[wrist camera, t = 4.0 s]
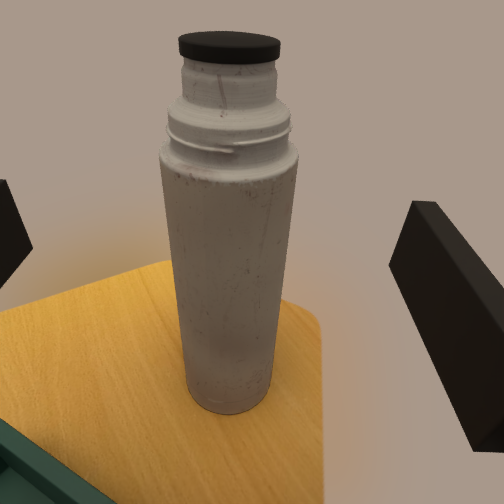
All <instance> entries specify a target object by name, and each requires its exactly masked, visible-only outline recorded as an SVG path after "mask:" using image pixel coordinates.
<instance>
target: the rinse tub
mask: <svg viewBox="0 0 504 504" xmlns="http://www.w3.org/2000/svg"><path fill="white" fill-rule="evenodd" d="M0 504H117V503H116V502H114V501H113V500H111V499H110V498H109V497H107V496H106V495H105V494H103V493H102V492H100V491H99V490H98V489H96V488H95V487H94V486H92V485H91V484H90V483H88V482H87V481H85V480H84V479H83V478H81V477H80V476H79V475H77V474H76V473H75V472H73V471H72V470H70V469H69V468H68V467H66V466H65V465H64V464H62V463H61V462H60V461H58V460H57V459H55V458H54V457H53V456H51V455H50V454H49V453H47V452H46V451H45V450H43V449H42V448H40V447H39V446H38V445H36V444H35V443H34V442H32V441H31V440H29V439H28V438H27V437H25V436H24V435H23V434H21V433H20V432H19V431H17V430H16V429H14V428H13V427H12V426H10V425H9V424H8V423H6V422H5V421H4V420H2V419H1V418H0Z"/></svg>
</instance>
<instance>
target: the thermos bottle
mask: <svg viewBox="0 0 504 504" xmlns="http://www.w3.org/2000/svg"><path fill="white" fill-rule="evenodd" d="M178 40H179V52H180V55H182V56H183V57H184V65H183V67H182V69H181V73H182V88H183V94H182V96H180V97H179V98H177V99H176V100H175V101H173V102H172V103H171V104H170V106H169V107H168V121H169V122H168V124H167V126H166V131H167V133H168V135H169V137H170V138H168V139H167V140H166V141H165V142H164V143H163V144H162V146H161V148H160V150H159V161H160V169H161V177H162V185H163V193H164V201H165V208H166V217H167V224H168V233H169V241H170V250H171V257H172V266H173V274H174V282H175V290H176V298H177V306H178V314H179V322H180V331H181V339H182V347H183V355H184V363H185V371H186V379H187V385H188V388H189V391H190V393H191V395H192V397H193V398H194V399H195V400H196V402H197V403H198V404H200V405H201V406H202V407H204V408H205V409H207V410H209V411H212V412H214V413H219V414H237V413H241V412H244V411H247V410H249V409H250V408H252V407H254V406H255V405H257V404H258V403H259V402H260V401H261V400H262V399H263V397H264V396H265V394H266V393H267V391H268V388H269V386H270V380H271V373H272V366H273V357H274V349H275V341H276V333H277V325H278V318H279V310H280V302H281V294H282V286H283V277H284V270H285V262H286V254H287V253H286V252H287V246H288V238H289V229H290V222H291V214H292V206H293V198H294V189H295V182H296V174H297V166H298V157H299V156H298V151H297V149H296V147H295V146H294V145H293V144H292V143H291V142H290V141H289V140H288V135H289V132H291V129H292V123H291V121H290V115H291V114H290V110H289V108H288V107H287V106H286V105H285V104H284V103H282V102H281V101H280V100H279V99H277V98H276V87H277V71H276V68H275V60H277V59H278V58H279V56H280V45H281V44H280V41H279V40H278V39H276V38H273V37H270V36H265V35H260V34H253V33H245V32H233V31H209V32H196V33H189V34H184V35H181V36H180V37H179V38H178Z"/></svg>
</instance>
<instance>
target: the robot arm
mask: <svg viewBox="0 0 504 504" xmlns="http://www.w3.org/2000/svg"><path fill="white" fill-rule="evenodd" d="M32 249H33V247H32V244H31V242H30V239H29V237H28V234H27V232H26V229H25V227H24V224H23V222H22V219H21V217H20V214H19V212H18V209H17V207H16V204H15V202H14V199H13V197H12V194H11V192H10V189H9V187H8V184H7V182H6V180H3V179H0V288H1V287H2V286H3V285H4V283H5V282H6V281H7V280H8V279H9V278H10V276H11V275H12V274H13V273H14V271H15V270H16V269H17V268H18V267H19V265H20V264H21V263H22V262H23V260H24V259H25V258H26V257H27V256H28V254H29V253H30V252H31V251H32ZM389 267H390V270H391V272H392V274H393V276H394V278H395V281H396V283H397V285H398V287H399V289H400V291H401V294H402V296H403V298H404V300H405V303H406V305H407V307H408V309H409V311H410V313H411V316H412V318H413V320H414V322H415V325H416V327H417V329H418V331H419V333H420V336H421V338H422V340H423V342H424V344H425V347H426V348H427V351H428V353H429V355H430V358H431V360H432V362H433V364H434V366H435V369H436V371H437V373H438V375H439V377H440V379H441V382H442V384H443V386H444V388H445V390H446V393H447V395H448V397H449V399H450V402H451V404H452V406H453V408H454V410H455V413H456V415H457V417H458V419H459V421H460V424H461V426H462V428H463V430H464V432H465V435H466V437H467V439H468V441H469V443H470V446H471V448H472V450H473V452H499V453H504V288H503V287H502V285H501V284H500V283H499V282H498V280H497V279H496V278H495V276H494V275H493V274H492V273H491V271H490V270H489V269H488V268H487V266H486V265H485V264H484V263H483V261H482V260H481V259H480V257H479V256H478V255H477V254H476V253H475V251H474V250H473V249H472V247H471V246H470V245H469V244H468V242H467V241H466V240H465V239H464V237H463V236H462V235H461V234H460V232H459V231H458V230H457V228H456V227H455V226H454V225H453V223H452V222H451V221H450V219H449V218H448V217H447V216H446V214H445V213H444V212H443V211H442V209H441V208H440V207H439V206H438V204H437V203H436V202H429V201H412V203H411V206H410V209H409V212H408V214H407V217H406V220H405V222H404V225H403V228H402V230H401V233H400V236H399V239H398V241H397V244H396V247H395V249H394V252H393V255H392V257H391V260H390V263H389Z"/></svg>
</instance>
